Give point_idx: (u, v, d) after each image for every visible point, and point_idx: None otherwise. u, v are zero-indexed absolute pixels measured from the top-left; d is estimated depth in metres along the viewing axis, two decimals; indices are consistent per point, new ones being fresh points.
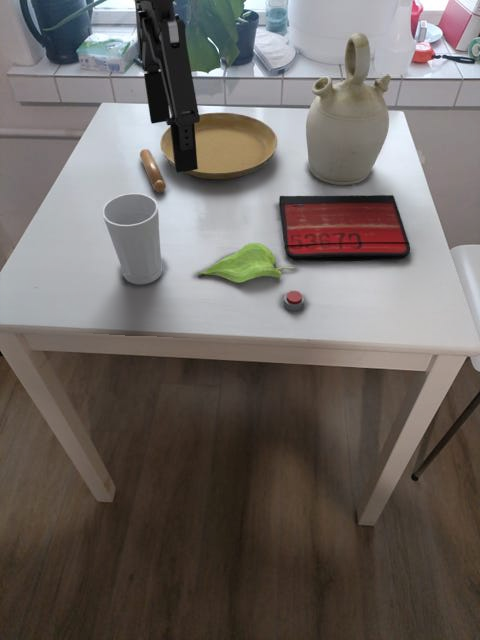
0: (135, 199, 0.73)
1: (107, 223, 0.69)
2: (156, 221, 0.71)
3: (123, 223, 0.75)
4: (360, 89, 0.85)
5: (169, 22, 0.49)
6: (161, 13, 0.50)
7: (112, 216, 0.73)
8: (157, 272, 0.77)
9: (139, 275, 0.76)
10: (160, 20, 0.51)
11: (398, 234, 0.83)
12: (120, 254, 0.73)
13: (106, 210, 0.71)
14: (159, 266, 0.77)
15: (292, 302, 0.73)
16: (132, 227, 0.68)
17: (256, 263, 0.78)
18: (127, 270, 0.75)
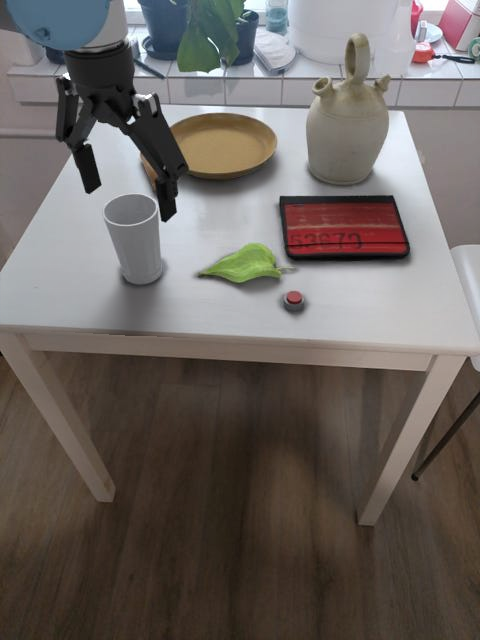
0: (135, 199, 0.73)
1: (107, 223, 0.69)
2: (156, 221, 0.71)
3: (123, 223, 0.75)
4: (360, 89, 0.85)
5: (148, 98, 0.55)
6: (127, 92, 0.56)
7: (112, 216, 0.73)
8: (157, 272, 0.77)
9: (139, 275, 0.76)
10: (130, 98, 0.56)
11: (398, 234, 0.83)
12: (120, 254, 0.73)
13: (106, 210, 0.71)
14: (159, 266, 0.77)
15: (292, 302, 0.73)
16: (132, 227, 0.68)
17: (256, 263, 0.78)
18: (127, 270, 0.75)
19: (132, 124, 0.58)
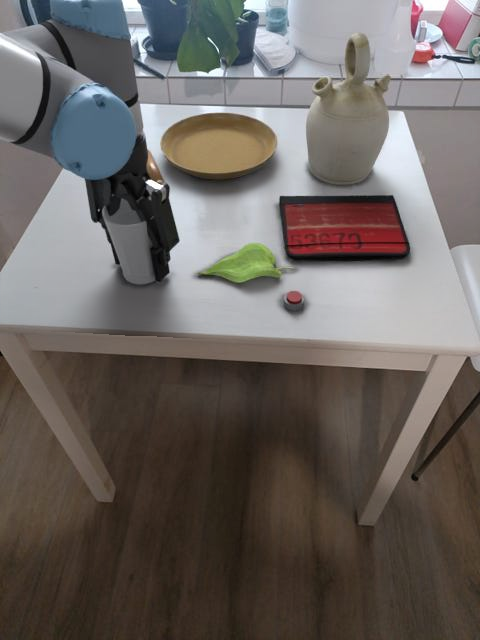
0: None
1: (107, 223, 0.69)
2: None
3: (123, 223, 0.75)
4: (360, 89, 0.85)
5: (161, 190, 0.64)
6: (142, 176, 0.64)
7: (112, 216, 0.73)
8: None
9: (139, 275, 0.76)
10: (144, 184, 0.64)
11: (398, 234, 0.83)
12: (120, 254, 0.73)
13: (106, 210, 0.71)
14: None
15: (292, 302, 0.73)
16: (132, 227, 0.68)
17: (256, 263, 0.78)
18: (127, 270, 0.75)
19: (141, 203, 0.67)
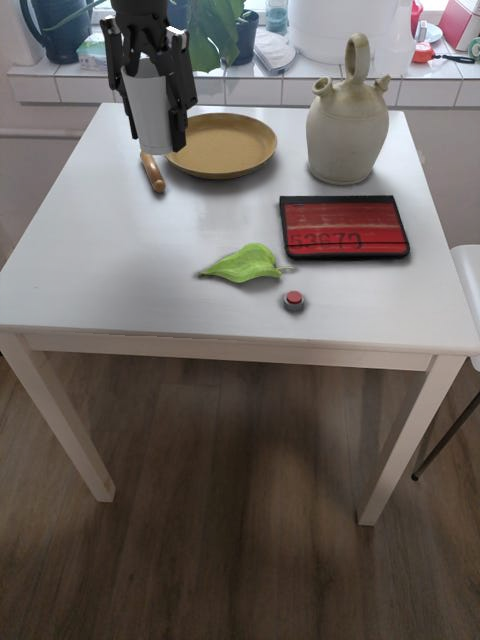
0: None
1: (126, 79, 0.69)
2: None
3: None
4: (360, 89, 0.85)
5: (182, 34, 0.64)
6: (162, 21, 0.64)
7: None
8: None
9: (156, 144, 0.76)
10: (165, 29, 0.64)
11: (398, 234, 0.83)
12: (138, 118, 0.73)
13: (125, 70, 0.71)
14: None
15: (292, 302, 0.73)
16: (151, 81, 0.68)
17: (256, 263, 0.78)
18: (145, 138, 0.76)
19: (161, 56, 0.67)
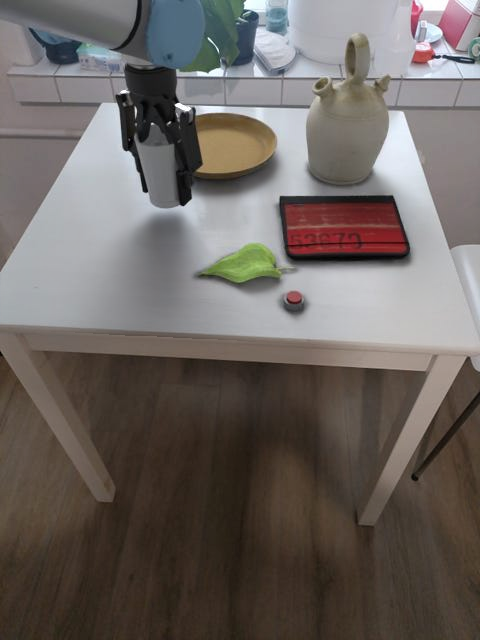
0: None
1: (139, 146, 0.77)
2: None
3: None
4: (360, 89, 0.85)
5: (189, 111, 0.72)
6: (172, 99, 0.72)
7: (142, 143, 0.81)
8: None
9: (165, 199, 0.84)
10: (174, 106, 0.72)
11: (398, 234, 0.83)
12: (149, 178, 0.82)
13: (137, 136, 0.79)
14: None
15: (292, 302, 0.73)
16: (162, 148, 0.76)
17: (256, 263, 0.78)
18: (154, 194, 0.84)
19: (170, 127, 0.75)
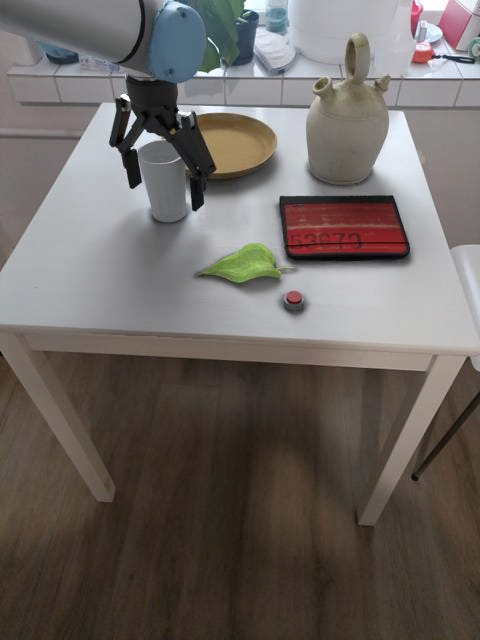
0: (164, 145, 0.84)
1: (142, 162, 0.79)
2: None
3: None
4: (360, 89, 0.85)
5: (188, 114, 0.72)
6: (172, 110, 0.73)
7: (145, 159, 0.83)
8: (183, 211, 0.88)
9: (167, 213, 0.86)
10: (174, 115, 0.73)
11: (398, 234, 0.83)
12: (151, 193, 0.84)
13: (140, 153, 0.81)
14: (184, 206, 0.88)
15: (292, 302, 0.73)
16: (164, 165, 0.78)
17: (256, 263, 0.78)
18: (157, 208, 0.86)
19: (174, 134, 0.76)
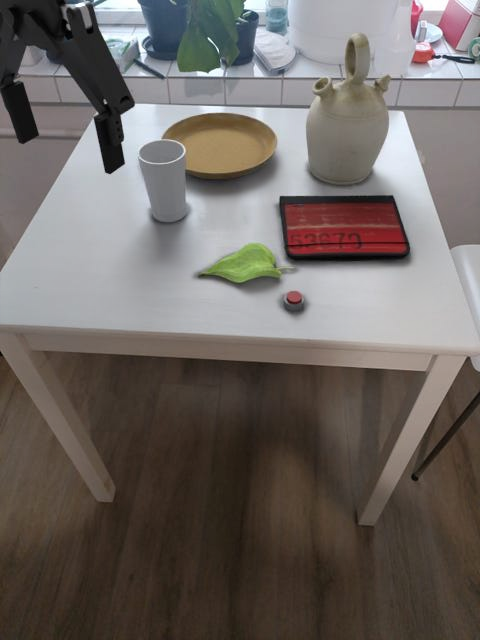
0: (164, 145, 0.84)
1: (142, 162, 0.79)
2: (184, 162, 0.81)
3: None
4: (360, 89, 0.85)
5: (79, 6, 0.44)
6: (55, 0, 0.45)
7: (145, 159, 0.83)
8: (183, 211, 0.88)
9: (167, 213, 0.86)
10: (57, 8, 0.45)
11: (398, 234, 0.83)
12: (151, 193, 0.84)
13: (140, 153, 0.81)
14: (184, 206, 0.88)
15: (292, 302, 0.73)
16: (164, 165, 0.78)
17: (256, 263, 0.78)
18: (157, 208, 0.86)
19: (63, 44, 0.48)
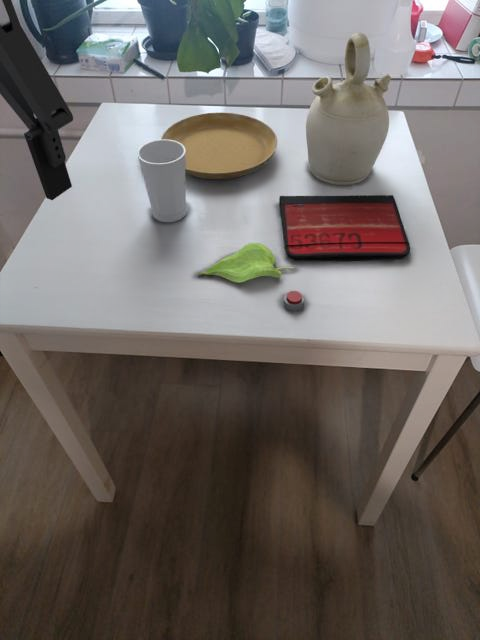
0: (164, 145, 0.84)
1: (142, 162, 0.79)
2: (184, 162, 0.81)
3: None
4: (360, 89, 0.85)
5: None
6: None
7: (145, 159, 0.83)
8: (183, 211, 0.88)
9: (167, 213, 0.86)
10: None
11: (398, 234, 0.83)
12: (151, 193, 0.84)
13: (140, 153, 0.81)
14: (184, 206, 0.88)
15: (292, 302, 0.73)
16: (164, 165, 0.78)
17: (256, 263, 0.78)
18: (157, 208, 0.86)
19: None
